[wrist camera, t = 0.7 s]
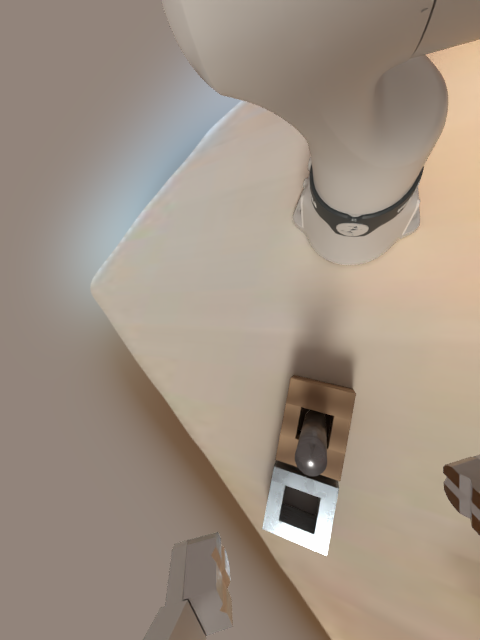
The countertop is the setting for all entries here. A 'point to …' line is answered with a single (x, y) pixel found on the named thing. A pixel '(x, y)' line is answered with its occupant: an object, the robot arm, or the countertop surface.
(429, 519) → the countertop surface
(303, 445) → the steel axle
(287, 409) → the wooden square hole block
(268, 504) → the socket block
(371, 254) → the robot arm
